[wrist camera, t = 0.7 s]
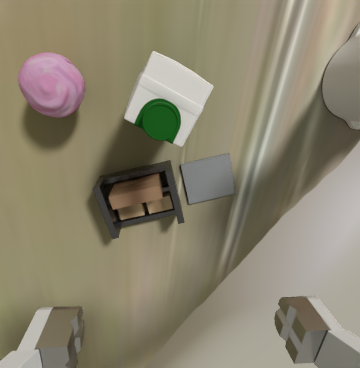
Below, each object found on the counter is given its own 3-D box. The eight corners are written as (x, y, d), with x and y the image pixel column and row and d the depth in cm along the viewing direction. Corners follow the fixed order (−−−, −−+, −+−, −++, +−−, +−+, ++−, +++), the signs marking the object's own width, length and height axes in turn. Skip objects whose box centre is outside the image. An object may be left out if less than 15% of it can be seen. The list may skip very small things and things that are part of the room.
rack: (170, 160, 49) (171, 170, 43) (181, 208, 53) (184, 222, 48) (100, 176, 49) (92, 188, 43) (117, 222, 53) (112, 239, 48)
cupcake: (79, 121, 44) (59, 131, 35) (32, 93, 42) (-3, 96, 33) (103, 77, 42) (87, 76, 33) (54, 44, 40) (22, 33, 30)
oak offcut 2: (169, 190, 51) (169, 195, 49) (172, 202, 53) (173, 208, 50) (146, 195, 52) (145, 201, 49) (149, 208, 53) (149, 213, 50)
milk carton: (132, 106, 44) (113, 123, 26) (153, 56, 41) (149, 36, 23) (175, 128, 46) (186, 158, 28) (198, 82, 44) (227, 83, 25)
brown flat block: (159, 170, 49) (159, 185, 42) (161, 181, 50) (162, 198, 43) (115, 180, 49) (108, 197, 42) (119, 191, 50) (112, 209, 43)
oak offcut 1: (141, 197, 52) (140, 202, 49) (145, 209, 53) (144, 214, 50) (118, 201, 52) (116, 207, 49) (122, 214, 53) (121, 220, 50)
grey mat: (228, 153, 49) (229, 154, 49) (234, 192, 53) (235, 193, 52) (180, 164, 49) (180, 165, 49) (189, 202, 53) (189, 204, 52)
